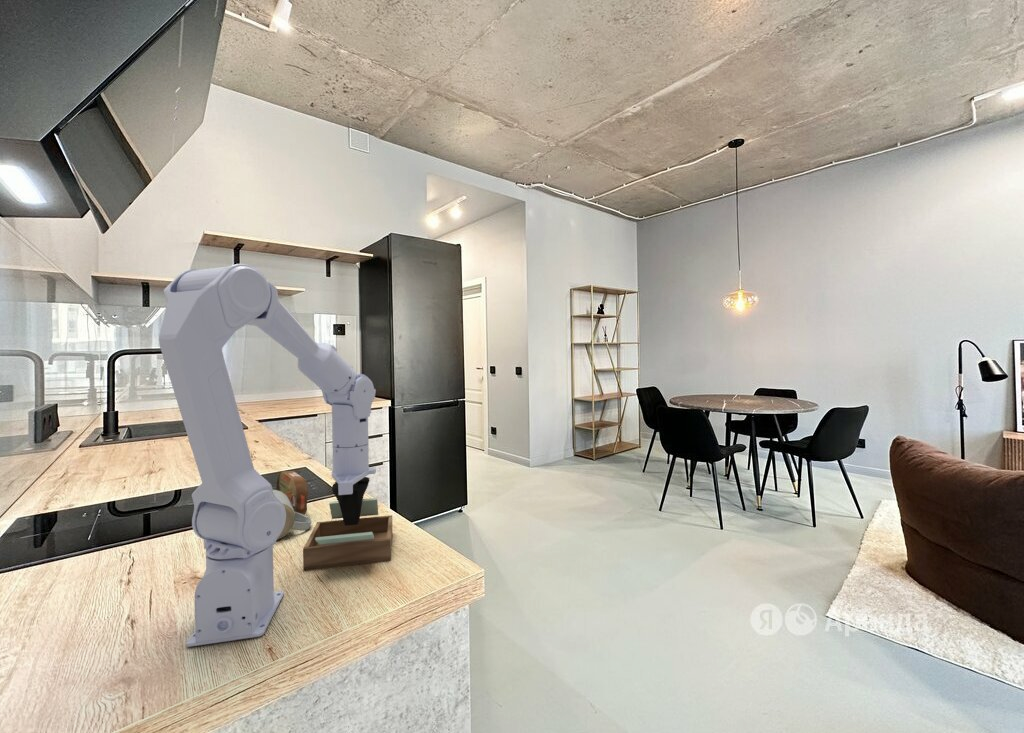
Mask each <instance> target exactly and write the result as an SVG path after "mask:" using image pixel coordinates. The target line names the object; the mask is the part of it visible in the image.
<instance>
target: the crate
mask: <svg viewBox="0 0 1024 733" xmlns="http://www.w3.org/2000/svg"><path fill="white" fill-rule="evenodd" d="M365 532H373V535H374V540H365V541H355V542H346V543H336V544H326V545H320V544H319V543H318V542H317V541H315V537H325V536H335V535H345V534H355V533H365ZM392 545H393V515H381V516H367V517H360V519H359V522H358V524H357V525H348V526H345V524H344V521H343V519H338V520H336V519H334V520H327V521H317V522H316V523H315V525H314V528H313V529H312V532H311V533H310V535H309V536H308V539H307V540H306V543H305V545H304V546H303V548H302V559H303V563H302V564H303V566H302V569H303V572H305V571H314V570H320V569H322V570H323V569H328V568H329V569H330V568H331V569H332V568H339V567H347V566H355V565H356V566H357V565H364V564H372V563H373V564H374V563H381V562H391V558H392V548H391V547H392Z"/></svg>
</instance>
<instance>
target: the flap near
mask: <svg viewBox="0 0 1024 733" xmlns="http://www.w3.org/2000/svg"><path fill="white" fill-rule="evenodd" d="M365 540H374V535H373V532H365V533H355V534H345V535H335V536H325V537H315V541H317V542H318V543H319V544H320V545H326V544H336V543H346V542H355V541H365Z"/></svg>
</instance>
